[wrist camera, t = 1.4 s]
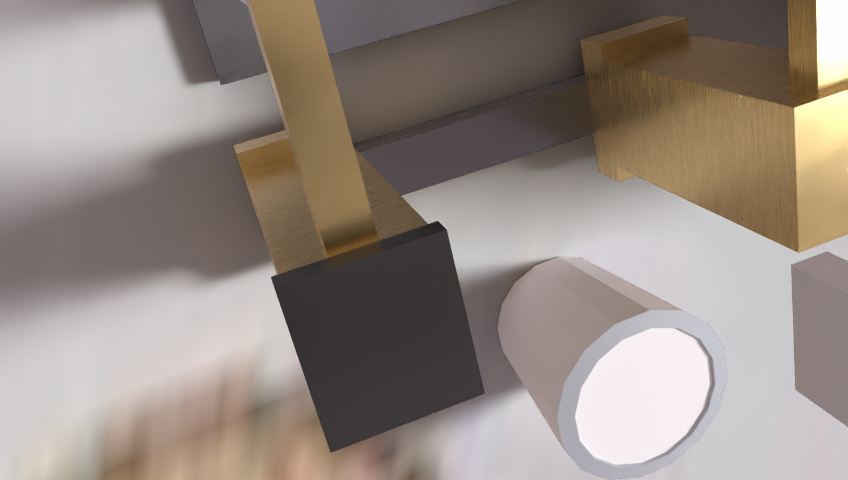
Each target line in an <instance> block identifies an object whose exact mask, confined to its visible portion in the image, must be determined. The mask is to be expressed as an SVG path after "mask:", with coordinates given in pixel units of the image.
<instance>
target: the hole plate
mask: <svg viewBox="0 0 848 480" xmlns="http://www.w3.org/2000/svg"><path fill="white" fill-rule="evenodd" d="M192 1H193V4H194V7H195V10H196V13H197V16H198V19H199V22H200V25H201V28H202V31H203V34H204V37H205V40H206V43H207V46H208V49H209V52H210V55H211V58H212V61H213V64H214V67H215V70H216V73H217V76H218V79H219V82H220V84H221V85H223V84H227V83H230V82H234V81H238V80H241V79H245V78H248V77H252V76H255V75H259V74H262V73H266V72H268V71H267V68H266V65H265V61H264V58H263V55H262V52H261V48H260V45H259V42H258V39H257V35H256V32H255V29H254V26H253V22H252V19H251V16H250V12H249V9H248V6H247V4H245V3H243V2H242V1H240V0H192ZM518 1H521V0H314V3H315V7H316V10H317V14H318V18H319V22H320V25H321V29H322V33H323V36H324V40H325V44H326V47H327V51H328V55H330V54H333V53H337V52H340V51H344V50H347V49H351V48H355V47H358V46H362V45H365V44H369V43H372V42H376V41H379V40H383V39H386V38H390V37H393V36H397V35H401V34H404V33H408V32H411V31H415V30H418V29H422V28H425V27H429V26H432V25H436V24H440V23H443V22H447V21H450V20H454V19H457V18H461V17H464V16H468V15H471V14H475V13H479V12H482V11H486V10H489V9H493V8H496V7H500V6H503V5H507V4H510V3H514V2H518Z"/></svg>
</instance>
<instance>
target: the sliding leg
mask: <svg viewBox="0 0 848 480" xmlns="http://www.w3.org/2000/svg"><path fill="white" fill-rule="evenodd" d="M240 1H242V2H243V3H245V4H247V6H248V9H249V12H250V16H251V19H252V22H253V26H254V29H255V32H256V35H257V39H258V42H259V45H260V48H261V52H262V55H263V58H264V61H265V65H266V68H267V71H268V75H269V78H270V81H271V84H272V88H273V91H274V94H275V97H276V101H277V104H278V107H279V110H280V114H281V117H282V120H283V124H284V127H285V130H283V131H280V132H276V133H273V134H270V135H266V136H263V137H260V138H256V139H253V140H250V141H246V142H243V143H240V144H236V145H233V147H234V149H235V152H236V155H237V158H238V161H239V164H240V167H241V170H242V173H243V176H244V179H245V182H246V185H247V188H248V191H249V194H250V197H251V200H252V203H253V206H254V209H255V212H256V215H257V218H258V221H259V224H260V227H261V230H262V233H263V235H264V238H265V241H266V244H267V247H268V250H269V253H270V256H271V259H272V262H273V265H274V268H275V271H276V274H277V275H275V276H272V277H271V279H272V282H273V285H274V288H275V291H276V294H277V297H278V300H279V303H280V306H281V308H282V311H283V314H284V317H285V320H286V323H287V326H288V329H289V332H290V335H291V338H292V341H293V344H294V347H295V350H296V352H297V355H298V358H299V361H300V364H301V367H302V370H303V373H304V376H305V379H306V382H307V385H308V388H309V391H310V393H311V396H312V399H313V402H314V405H315V408H316V411H317V414H318V417H319V420H320V423H321V426H322V429H323V432H324V435H325V437H326V440H327V443H328V446H329V449H330V452H334V451H336V450H339V449H342V448H344V447H347V446H349V445H352V444H354V443H357V442H360V441H362V440H365V439H367V438H370V437H373V436H375V435H378V434H380V433H383V432H386V431H388V430H391V429H393V428H396V427H399V426H401V425H404V424H406V423H409V422H412V421H414V420H417V419H419V418H422V417H425V416H427V415H430V414H432V413H435V412H438V411H440V410H443V409H445V408H448V407H451V406H453V405H456V404H458V403H461V402H464V401H466V400H469V399H471V398H474V397H477V396H479V395H482V394H484V389H483V384H482V380H481V376H480V371H479V367H478V363H477V359H476V354H475V350H474V346H473V341H472V337H471V333H470V328H469V324H468V320H467V315H466V311H465V307H464V302H463V298H462V294H461V289H460V285H459V281H458V277H457V272H456V268H455V264H454V259H453V255H452V251H451V246H450V242H449V238H448V233H447V230H446V229H445V228H444V227H443V226H442V225H441V224H440V223H439V222H438V221H436V222H433V223H430V224H427V223H426V222H425V220H424V219H423V218H422V217H421V216H420V215H419V214H418V213H417V212H416V211H415V210H414V209H413V208H412V207H411V206H410V205H409V204H408V203H407V202H406V201H405V200H404V199H403V198H402V197H401V196H400V195H399V194H398V193H397V192H396V191H395V190H394V188H393V187H392V186H391V185H390V184H389V183H388V182H387V181H386V180H385V179H384V178H383V177H382V176H381V175H380V174H379V173H378V172H377V171H376V170H375V169H374V168H373V167H372V166H371V165H370V164H369V163H368V162H367V161H366V160H365V159H364V158H363V156H362V155H361V154H360V153H359V152H358V151H357V150H356V149H355V148H354V147H353V143H352V139H351V136H350V132H349V128H348V124H347V121H346V117H345V113H344V110H343V106H342V102H341V99H340V95H339V91H338V88H337V84H336V80H335V77H334V73H333V69H332V66H331V62H330V58H329V55H328V51H327V47H326V44H325V40H324V36H323V33H322V29H321V25H320V22H319V18H318V14H317V10H316V7H315V3H314V0H240Z"/></svg>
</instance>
